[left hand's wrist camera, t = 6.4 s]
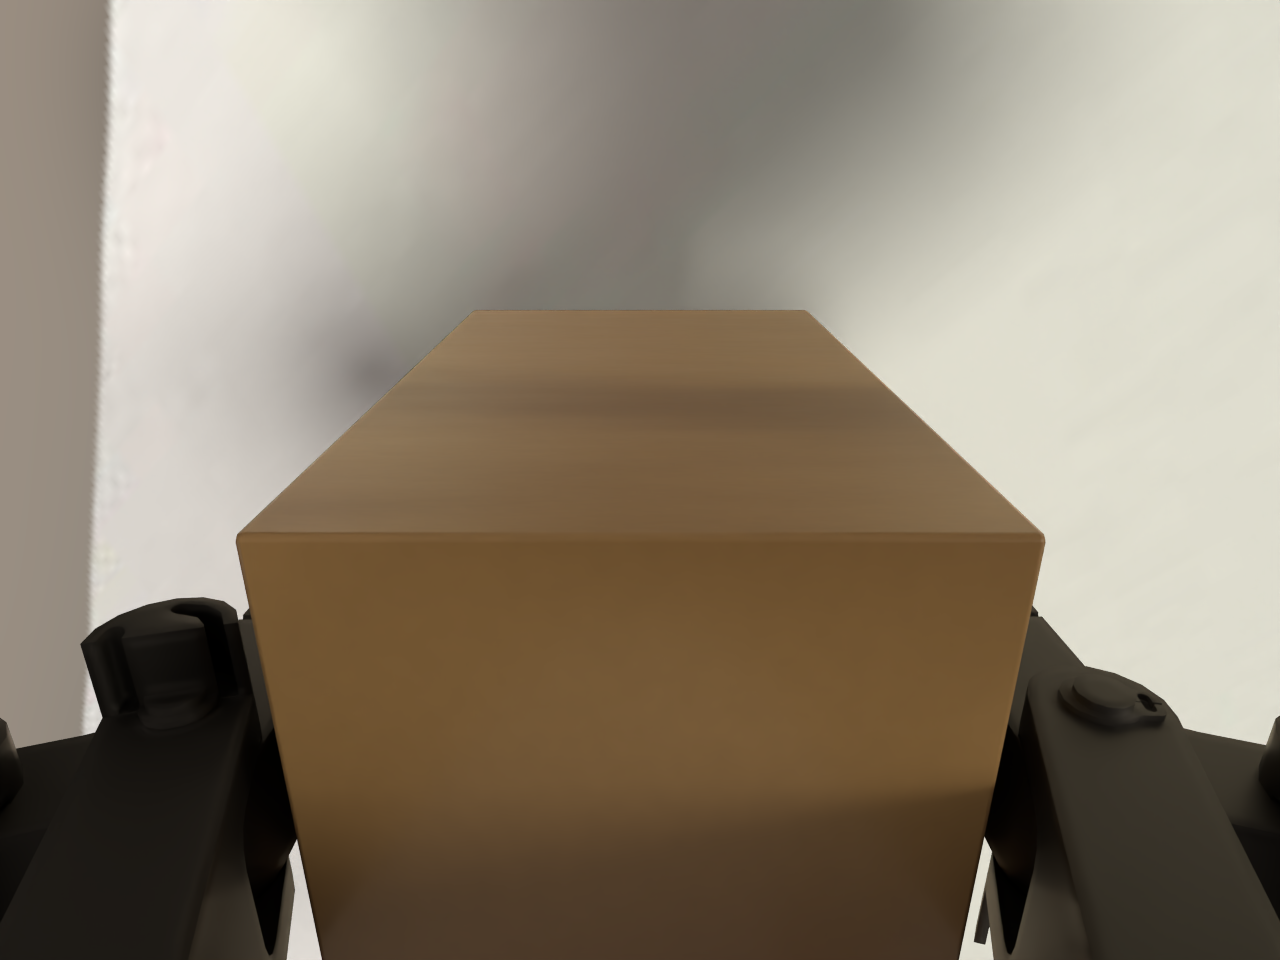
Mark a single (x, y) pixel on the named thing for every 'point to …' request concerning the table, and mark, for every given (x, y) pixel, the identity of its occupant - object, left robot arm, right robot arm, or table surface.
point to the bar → (640, 650)
